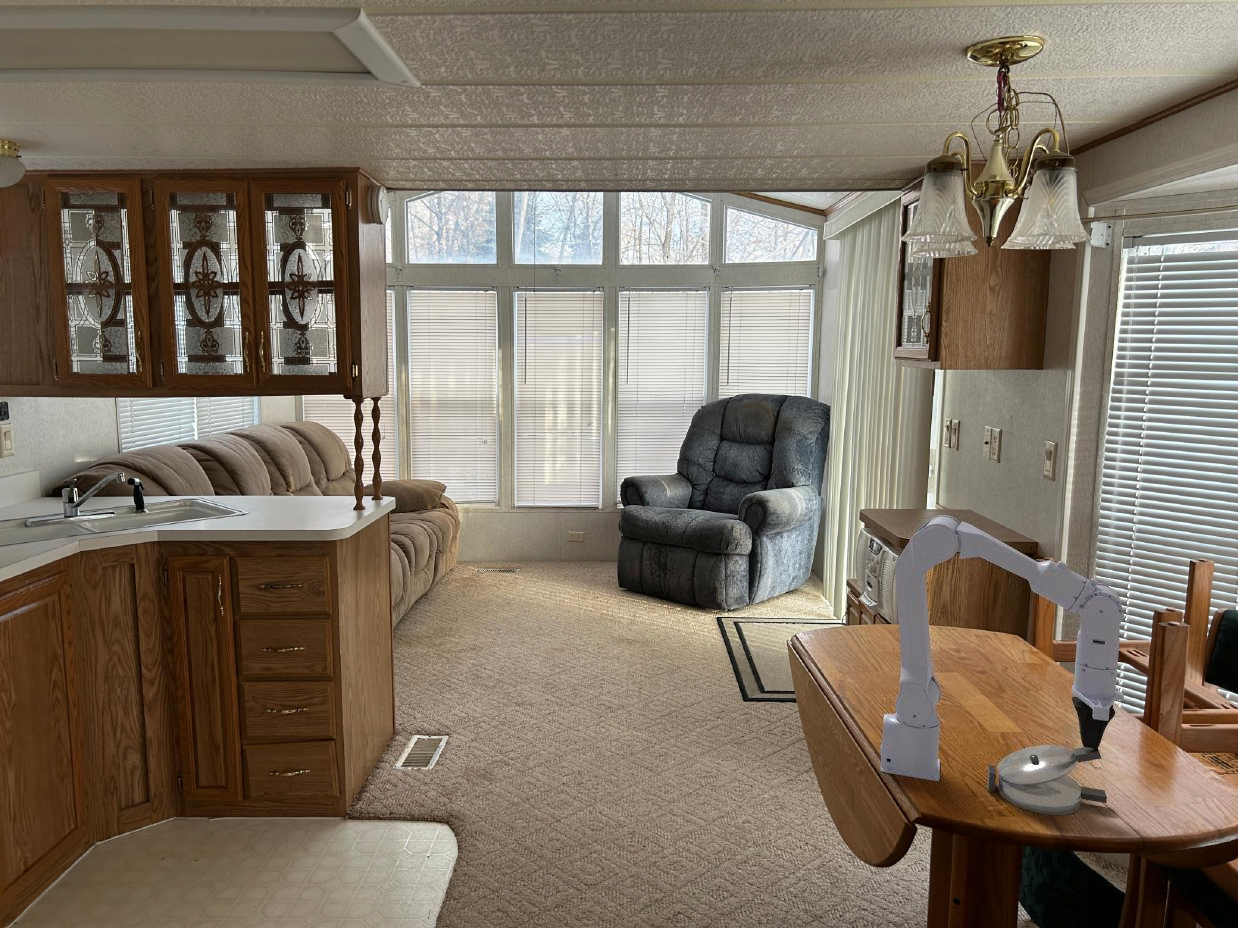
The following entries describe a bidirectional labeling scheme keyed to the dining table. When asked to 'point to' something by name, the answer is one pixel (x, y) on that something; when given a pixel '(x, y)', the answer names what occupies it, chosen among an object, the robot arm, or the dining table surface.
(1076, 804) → the pot
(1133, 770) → the dining table surface
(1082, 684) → the robot arm
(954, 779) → the dining table surface
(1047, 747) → the lid
